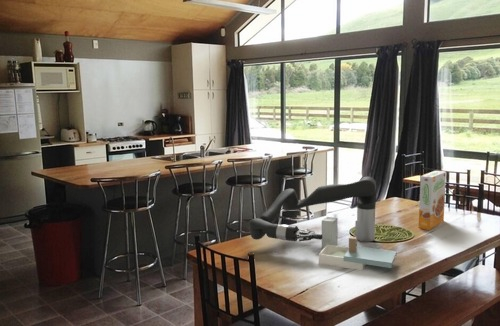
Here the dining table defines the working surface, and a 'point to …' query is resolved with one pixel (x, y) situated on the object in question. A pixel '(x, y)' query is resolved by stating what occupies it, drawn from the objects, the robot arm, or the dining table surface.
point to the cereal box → (432, 199)
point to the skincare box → (329, 232)
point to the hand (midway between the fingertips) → (321, 237)
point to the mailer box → (337, 257)
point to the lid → (368, 255)
